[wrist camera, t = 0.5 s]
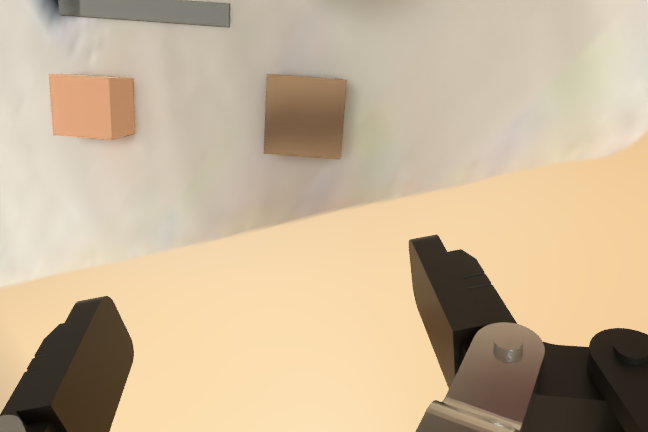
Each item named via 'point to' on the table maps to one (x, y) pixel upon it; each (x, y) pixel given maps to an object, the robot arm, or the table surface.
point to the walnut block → (304, 116)
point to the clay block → (92, 106)
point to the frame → (151, 11)
